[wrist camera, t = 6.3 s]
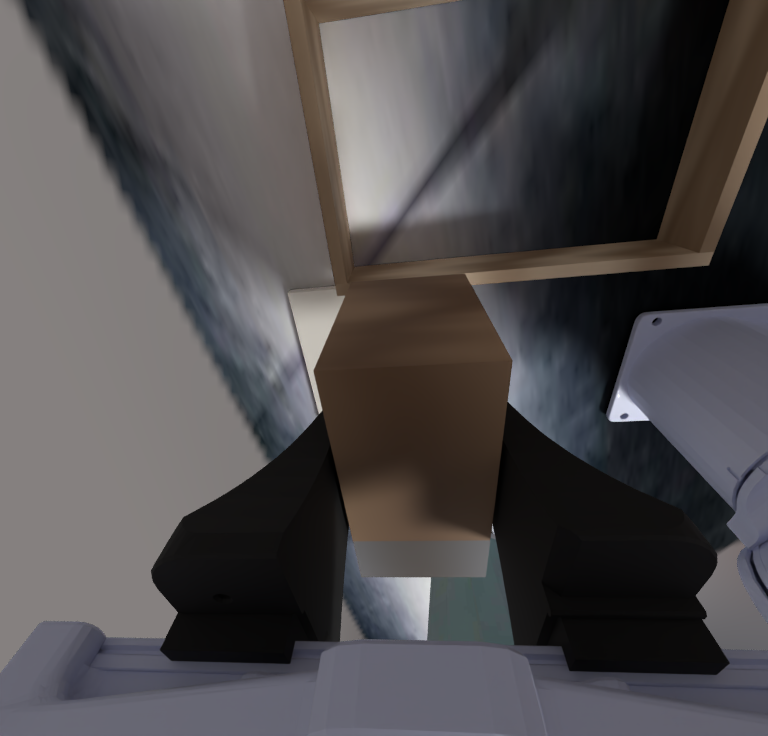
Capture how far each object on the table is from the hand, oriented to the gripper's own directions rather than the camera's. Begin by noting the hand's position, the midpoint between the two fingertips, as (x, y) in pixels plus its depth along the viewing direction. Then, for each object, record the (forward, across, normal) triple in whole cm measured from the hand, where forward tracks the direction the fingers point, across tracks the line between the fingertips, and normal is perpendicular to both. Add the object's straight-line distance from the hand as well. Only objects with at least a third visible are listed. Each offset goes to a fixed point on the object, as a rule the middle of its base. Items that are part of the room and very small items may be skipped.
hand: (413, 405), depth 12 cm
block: (+2, 0, 0) cm, 2 cm away
